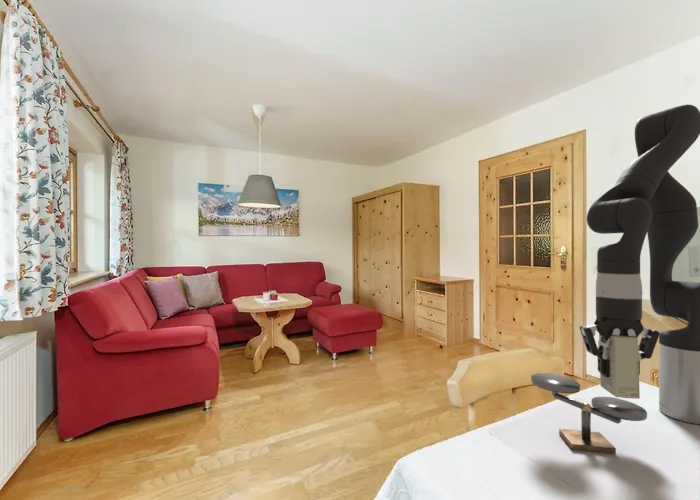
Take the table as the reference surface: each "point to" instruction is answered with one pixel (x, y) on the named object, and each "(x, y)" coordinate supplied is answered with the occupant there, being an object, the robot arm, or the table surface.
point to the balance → (588, 413)
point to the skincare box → (623, 368)
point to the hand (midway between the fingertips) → (618, 376)
